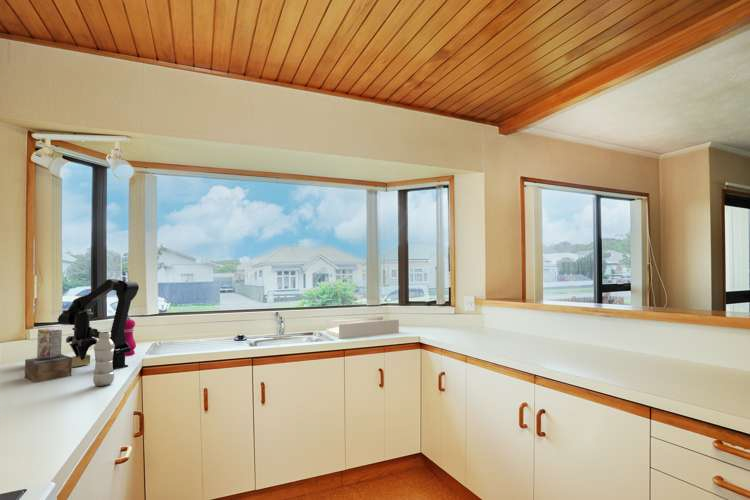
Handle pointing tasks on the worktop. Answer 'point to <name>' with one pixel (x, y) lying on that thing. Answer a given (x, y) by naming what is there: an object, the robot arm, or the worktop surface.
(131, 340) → the pepper mill
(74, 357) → the olive yellow block
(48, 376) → the box
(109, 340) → the plastic bottle
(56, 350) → the candy bar box
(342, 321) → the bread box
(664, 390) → the worktop surface
